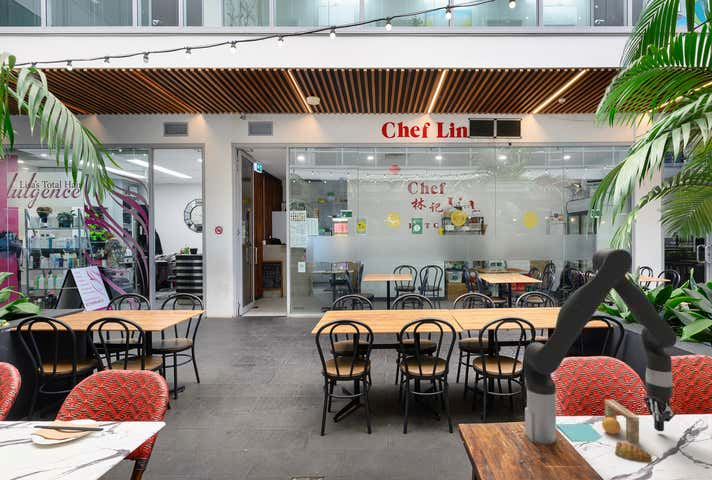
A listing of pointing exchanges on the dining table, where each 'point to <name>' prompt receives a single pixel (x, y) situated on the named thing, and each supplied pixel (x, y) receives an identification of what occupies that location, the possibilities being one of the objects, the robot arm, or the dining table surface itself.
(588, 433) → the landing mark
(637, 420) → the bridge
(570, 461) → the dining table surface
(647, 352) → the robot arm
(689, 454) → the dining table surface
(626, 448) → the pastry
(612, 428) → the ball
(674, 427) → the dining table surface
